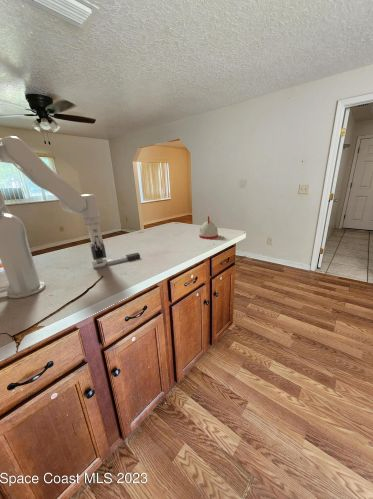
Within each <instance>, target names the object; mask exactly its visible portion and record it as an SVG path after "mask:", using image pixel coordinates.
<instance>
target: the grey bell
mask: <svg viewBox="0 0 373 499" xmlns="http://www.w3.org/2000/svg"><path fill="white" fill-rule="evenodd" d="M199 238H200V239H203V240H204V239H205V240H213V239H216V238H219V232H218V226H216V224H214V222H212V221H211V220H210V216H209V215H208V216H207V221H204V223H203V224H202V225H201V226H200V227H199Z"/></svg>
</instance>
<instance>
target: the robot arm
mask: <svg viewBox="0 0 373 499" xmlns="http://www.w3.org/2000/svg"><path fill="white" fill-rule="evenodd" d="M0 163H5V164H12V165H13V166H14V167H15V168H16V169H18V170H19V171H20V172H21V173H23V175H24V176H26V177H27V178H28V179H29V180H30V181H31V182H32V183H33V184H34V185H36V186H37V187H39V188H41V189H42V190H44V191H47V192H49V193H50V194H51V195H53V196H54V197H56V198H57V199H58V206H59V207H60V209H61V210H63V211H64V212H67V213H71V214H75V215H76V214H77V215H79V214H81V216H82V220H83V225H84V226H87V231H88V232H87V233H88V235H89V239H90V242H91V243H92V244H93V245H94V246H95V253H96V257H97V258H100V257H103V252H102V248H101V244H100V242H101V243H102V244H104V239H103V235H102V229H101V227H100V224H101V222H102V221H101V217H100V216H101V215H100V211H99V206H98V205H99V204H98V198H97V196H96V195H95V194H91V193H89V194H80V193H79V192H78V190H77V189H75V187H73V186H72V184H70V183H69V182H68V181H67V180H65V179H64V178H63V177H62V176H60V175H59V174H57V172H54V171H53V170H52V169H51V168H50V167H49V166H48V164H47V163H45V161H43V160H42V158H41V157H40V156H39V155H38V154H37V153H36V152H35V151H34V149H32V148H31V147H30V146H29V145H28V144H27V143H26V142H25V141H24V140H22V139H21V138H20V137H17V136H14V135H7V136H4V137H1V138H0ZM27 234H28V233H27V229H26V227H25V224H24V222H23V220H21V219H20V217H18V216H17V215H14V214H12V212H11V211H10V209H9V207H8V206H7V204H5V197H4V195H3V194H2V192H1V191H0V262H1V265H2V268H3V271H4V273H5V276H6V279H7V284H5V285H0V294H1V293H5V292H7V293H6V294H7V297H8V298H10V299H21V298H22V299H23V298H26V297H30V296H32V295H35V294H38V293H39V292H41V291H42V290H44V288H46V282H44V281H42V280H40V278H39V274H38V270H37V268H36V264H35V261H34V258H33V255H32V252H31V249H30V244H29V241H28V235H27ZM95 243H96V244H95ZM96 245H97V246H96Z"/></svg>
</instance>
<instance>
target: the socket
mask: <svg viewBox="0 0 373 499" xmlns="http://www.w3.org/2000/svg"><path fill="white" fill-rule="evenodd" d="M95 244H96V243H95ZM100 244H101V248H102V252H103V257H100V258H97V257H96V253H95V246H94V245H93V244H92V242H91V243H89V247H90V252H91V257H92V259H93V261H95V260H97V259H101V258H102V259H105V258H107V252H106V247H105V244H104V243H103V244H102V243H101V242H100ZM96 246H97V245H96Z"/></svg>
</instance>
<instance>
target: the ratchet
mask: <svg viewBox="0 0 373 499" xmlns="http://www.w3.org/2000/svg"><path fill="white" fill-rule="evenodd" d="M139 259H141V255H140V252H134V253H130V254H129V253H128V254H125V255H124V256H120V257H115V258H110V259H105V258H101V259H97V260H93V261H92V263H91V264H92V268H93V269H95V270H96V269H97V270H98V269H99V270H100V269H104V268H106V267H107V266H110V265H116V264H119V263H124V262H129V261H134V260H139Z"/></svg>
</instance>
